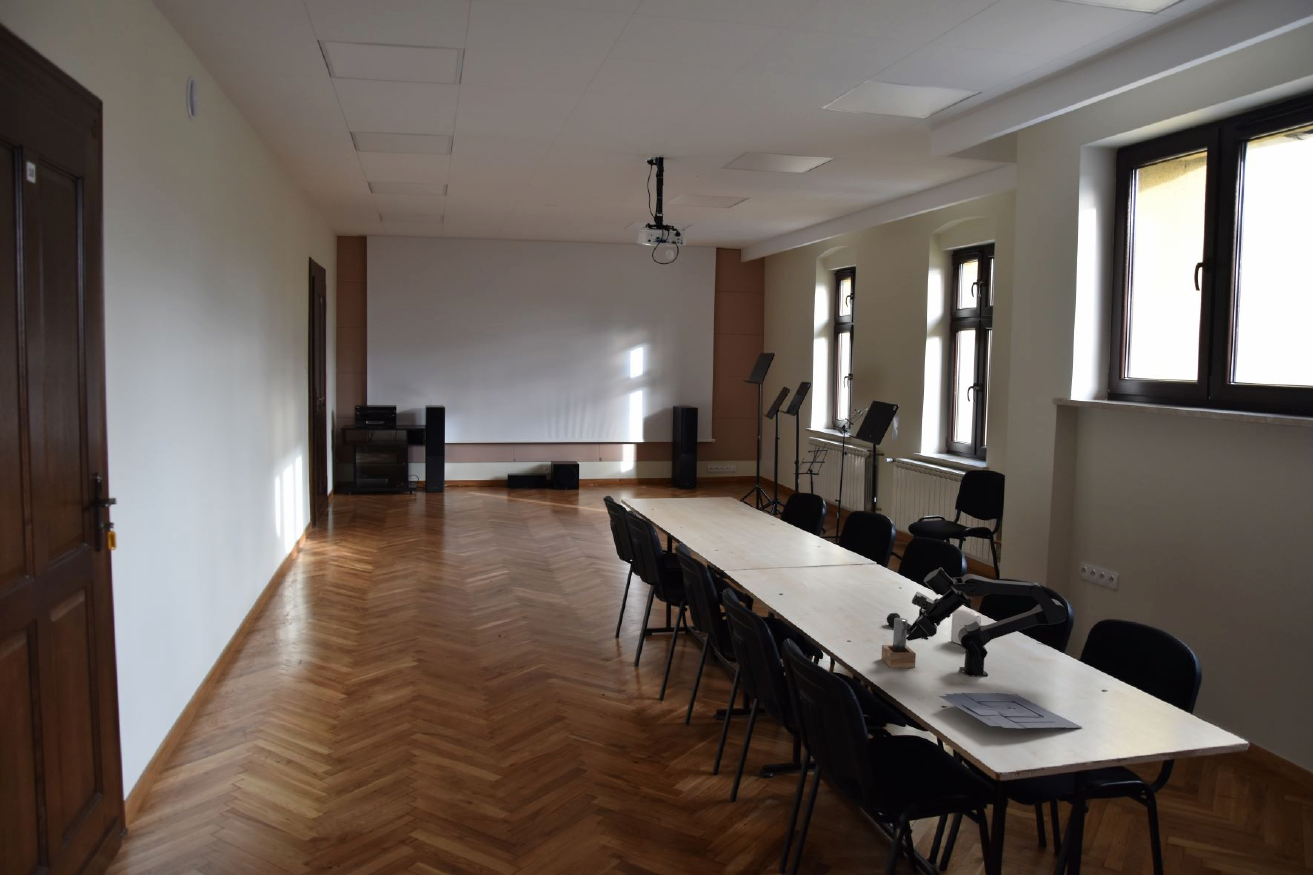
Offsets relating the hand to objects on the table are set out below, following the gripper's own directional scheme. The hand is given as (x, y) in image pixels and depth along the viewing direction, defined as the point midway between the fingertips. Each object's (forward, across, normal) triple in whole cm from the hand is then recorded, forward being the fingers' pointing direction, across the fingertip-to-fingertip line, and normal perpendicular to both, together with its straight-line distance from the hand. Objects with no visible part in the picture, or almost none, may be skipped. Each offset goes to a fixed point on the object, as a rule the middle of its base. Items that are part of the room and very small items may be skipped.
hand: (908, 635), depth 274 cm
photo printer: (-5, -28, +19) cm, 35 cm away
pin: (+7, 0, +4) cm, 8 cm away
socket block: (+9, 0, +5) cm, 10 cm away
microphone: (+9, -34, +5) cm, 36 cm away
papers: (-13, +32, +27) cm, 44 cm away
